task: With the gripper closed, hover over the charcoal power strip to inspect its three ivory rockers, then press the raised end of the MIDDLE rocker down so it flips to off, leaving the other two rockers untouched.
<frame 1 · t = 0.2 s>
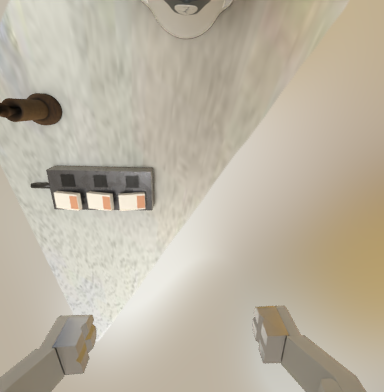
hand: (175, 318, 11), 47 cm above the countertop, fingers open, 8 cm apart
rocker middle: (100, 201, 53), point 6 cm above the countertop, hinge at 13.0°
rocker b: (132, 201, 53), point 6 cm above the countertop, hinge at -13.0°
rocker a: (67, 200, 53), point 6 cm above the countertop, hinge at 13.0°
power strip: (106, 185, 58), on the countertop
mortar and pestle: (47, 109, 51), on the countertop
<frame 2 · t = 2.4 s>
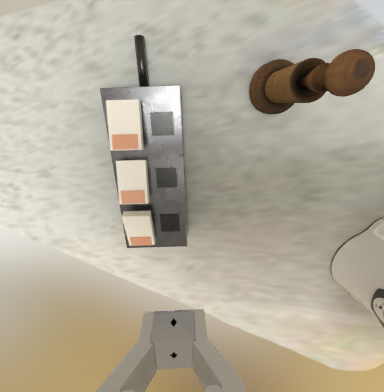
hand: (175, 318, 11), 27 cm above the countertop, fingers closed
rocker middle: (133, 182, 31), point 6 cm above the countertop, hinge at 13.0°
rocker b: (139, 229, 34), point 6 cm above the countertop, hinge at -13.0°
rocker a: (125, 125, 28), point 6 cm above the countertop, hinge at 13.0°
power strip: (153, 170, 36), on the countertop
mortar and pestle: (271, 88, 32), on the countertop
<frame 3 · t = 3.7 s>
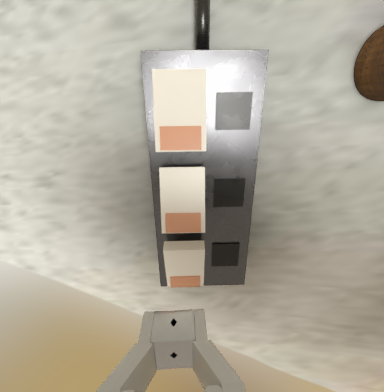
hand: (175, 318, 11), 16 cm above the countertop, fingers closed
rocker middle: (182, 199, 20), point 6 cm above the countertop, hinge at 13.0°
rocker b: (184, 265, 23), point 6 cm above the countertop, hinge at -13.0°
rocker a: (180, 112, 17), point 6 cm above the countertop, hinge at 13.0°
power strip: (201, 179, 26), on the countertop
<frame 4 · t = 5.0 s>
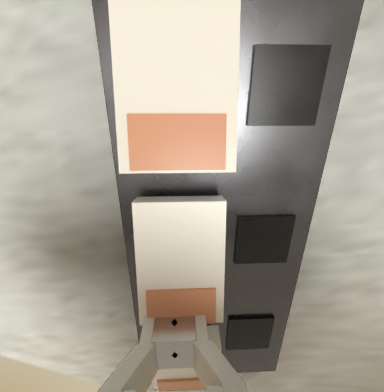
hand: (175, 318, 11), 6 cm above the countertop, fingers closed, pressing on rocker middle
rocker middle: (180, 261, 10), point 6 cm above the countertop, hinge at 10.8°, touching gripper
rocker b: (183, 361, 13), point 6 cm above the countertop, hinge at -13.0°
rocker a: (176, 83, 8), point 6 cm above the countertop, hinge at 13.0°
power strip: (209, 208, 16), on the countertop
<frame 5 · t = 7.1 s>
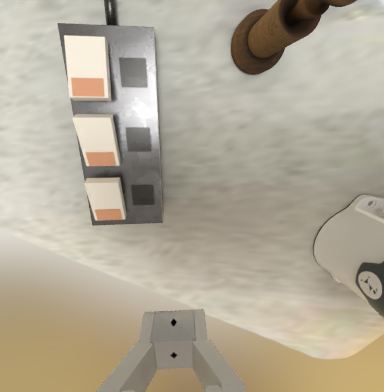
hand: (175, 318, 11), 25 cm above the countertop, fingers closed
rocker middle: (98, 141, 26), point 6 cm above the countertop, hinge at -16.8°, touching power strip
rocker b: (106, 200, 29), point 6 cm above the countertop, hinge at -15.2°
rocker a: (88, 69, 24), point 6 cm above the countertop, hinge at 13.0°
power strip: (124, 136, 32), on the countertop
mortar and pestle: (254, 46, 30), on the countertop
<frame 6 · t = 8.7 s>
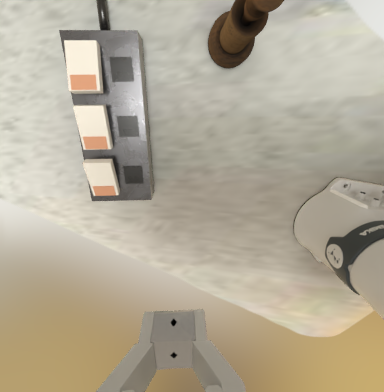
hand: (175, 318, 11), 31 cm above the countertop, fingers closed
rocker middle: (94, 127, 32), point 6 cm above the countertop, hinge at -7.0°
rocker b: (102, 178, 34), point 6 cm above the countertop, hinge at -16.8°, touching power strip
rocker a: (84, 67, 29), point 6 cm above the countertop, hinge at 13.0°
power strip: (118, 124, 37), on the countertop
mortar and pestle: (229, 43, 34), on the countertop
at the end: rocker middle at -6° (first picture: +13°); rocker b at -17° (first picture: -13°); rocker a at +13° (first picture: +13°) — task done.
